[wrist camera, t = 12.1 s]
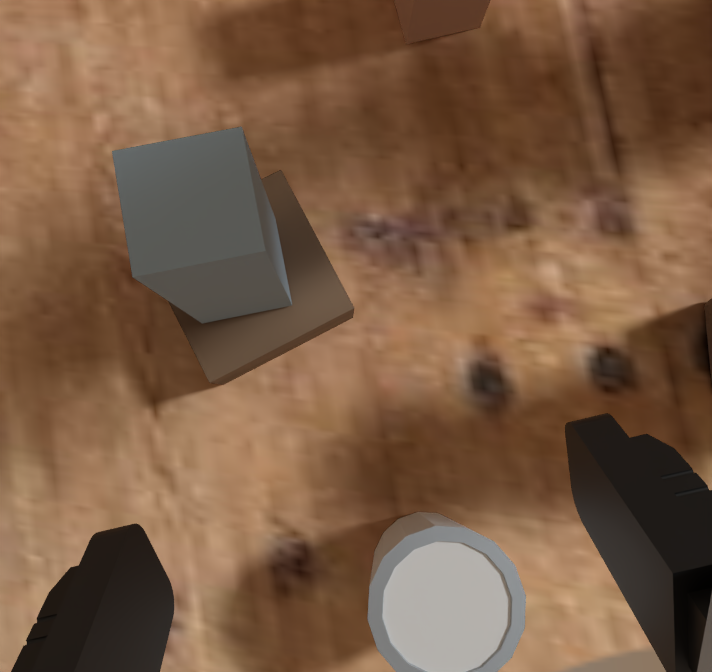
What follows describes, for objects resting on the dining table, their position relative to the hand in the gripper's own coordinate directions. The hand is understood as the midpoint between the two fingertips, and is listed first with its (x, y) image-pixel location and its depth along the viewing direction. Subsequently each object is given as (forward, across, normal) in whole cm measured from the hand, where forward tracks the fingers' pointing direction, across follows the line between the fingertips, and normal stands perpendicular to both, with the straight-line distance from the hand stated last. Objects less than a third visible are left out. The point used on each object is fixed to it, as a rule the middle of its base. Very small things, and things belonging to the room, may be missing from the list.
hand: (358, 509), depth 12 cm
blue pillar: (+21, +5, +1) cm, 21 cm away
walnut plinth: (+24, +5, +4) cm, 25 cm away
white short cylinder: (+16, 0, +18) cm, 24 cm away
